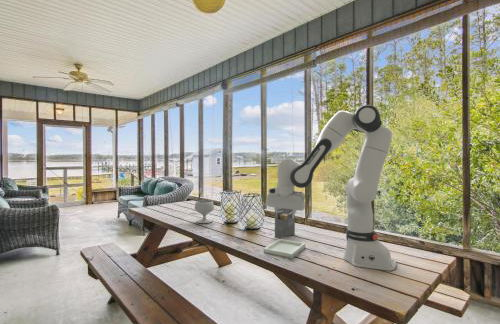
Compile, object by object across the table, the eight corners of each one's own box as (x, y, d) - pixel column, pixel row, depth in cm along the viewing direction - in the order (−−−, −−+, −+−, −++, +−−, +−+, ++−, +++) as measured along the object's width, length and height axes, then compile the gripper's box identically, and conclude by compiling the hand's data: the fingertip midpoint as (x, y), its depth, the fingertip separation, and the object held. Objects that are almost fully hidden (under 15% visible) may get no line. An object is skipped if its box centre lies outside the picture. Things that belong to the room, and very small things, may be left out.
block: (290, 222, 143) (290, 214, 143) (286, 223, 140) (287, 216, 139) (283, 221, 145) (283, 213, 145) (279, 222, 142) (279, 215, 142)
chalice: (216, 220, 208) (216, 200, 207) (209, 224, 194) (209, 203, 194) (199, 219, 211) (199, 199, 211) (191, 223, 197) (191, 202, 197)
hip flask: (277, 238, 162) (277, 205, 162) (272, 237, 166) (272, 204, 165) (295, 234, 172) (296, 202, 172) (290, 232, 175) (291, 201, 175)
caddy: (293, 223, 143) (293, 212, 143) (288, 226, 138) (288, 214, 138) (281, 221, 147) (282, 210, 147) (276, 224, 141) (276, 212, 141)
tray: (305, 247, 147) (305, 243, 147) (291, 259, 131) (291, 254, 131) (279, 243, 155) (279, 238, 155) (263, 253, 138) (263, 248, 138)
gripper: (307, 191, 139) (306, 218, 140) (270, 188, 150) (270, 213, 150) (302, 192, 134) (302, 221, 134) (265, 189, 144) (264, 215, 145)
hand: (285, 217), depth 142 cm, fingers closed on caddy, 6 cm apart
